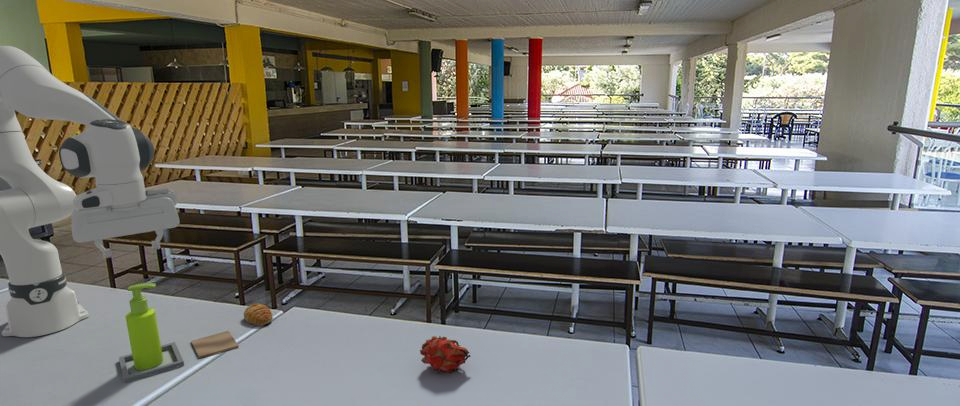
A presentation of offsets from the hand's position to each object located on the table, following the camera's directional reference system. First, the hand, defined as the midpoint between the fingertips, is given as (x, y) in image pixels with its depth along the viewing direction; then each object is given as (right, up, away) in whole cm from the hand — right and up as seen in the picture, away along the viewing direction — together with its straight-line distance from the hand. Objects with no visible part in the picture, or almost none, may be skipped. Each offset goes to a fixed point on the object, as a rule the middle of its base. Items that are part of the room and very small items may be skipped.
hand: (132, 252), depth 121 cm
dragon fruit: (+71, -28, +4) cm, 76 cm away
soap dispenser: (0, -27, +7) cm, 28 cm away
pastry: (+17, -22, +29) cm, 40 cm away
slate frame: (0, -27, +7) cm, 28 cm away
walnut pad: (+11, -25, +15) cm, 31 cm away
